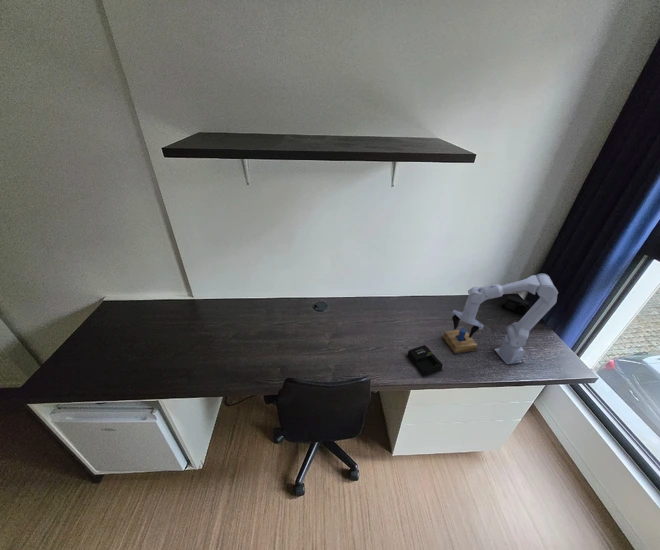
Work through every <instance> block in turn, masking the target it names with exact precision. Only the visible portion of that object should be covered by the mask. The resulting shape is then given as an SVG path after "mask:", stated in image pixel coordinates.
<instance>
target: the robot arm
mask: <svg viewBox="0 0 660 550" xmlns="http://www.w3.org/2000/svg"><path fill="white" fill-rule="evenodd" d="M522 291H526V292H528V293H529V294H532V295H536V293H537V295H538V297H539V298H538V299H537V301H536V302H535V303H534V304H533V305H532V306H531V307H530V308H529V309H528V311H527V312H525V313H524V314H523V316H522V317H521V319H520V320H518V321H514V322H513V323H512V324H510V325H508V326H507V327H506V328H505V331H506V334H505V336H504V338H503V340H502V342H501V345H500V347H497V348H494V349H493V350H494V351H495V353H496V354H497V355H498V356H499V357H500V358H501V360H502V361H503V362H504V363H505V364H506V365H513V364H519V363H522V362H523V361H522V360H523V358H524V356H525V354H526V351H525V350H524V349H523V347H524V346H525V345H526V344H527V343H526V342H527V340H529V335H530V332H531V330H533V328H534V327H535V326H536V325H537V324H538V323H539V322H540V320H542V318H543V317H544V316H545V315H546V314H547V313H548V312H550V310H551V309H552V308H553V307H554V306H555V305H556V304H557V300H558V294H559V291H558V289H557V287H556V286H555V285H554V283H553V280H552V279H551V277H550V276H549V275H548V274H546V273H538V274H532V275H530V276H528V277H527V278H525V279H521V280H517V281H514V282H510V283H506V284H499V283H490V285H486V286H473V287H470V288H469V289H468V290H467V294H468V296H467V299H466V301H465V303H464V307H463V310H462V311H459V310H456V309H453V311H452V312H451V315H452V317H451V319H452V322H453V330H457V328H458V327H459V323H460V320H461V322H463V323H465V324H469V325H472V327H470V332H469V338H472V337H473V335H474V334H475V333H476V332H478V331H479V330H480V331H482V330H483V328H484V326H485V325H484V324H483V323H482V322H480V321H479V320H477V319H476V317H477V314H478V311H479V308H480V305H481V304H482V303H483V302H485V301H486V300H493V299H496V298H501V297H502V296H503V295H505V294H509V293H516V292H522Z"/></svg>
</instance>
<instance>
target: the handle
mask: <svg viewBox="0 0 660 550" xmlns="http://www.w3.org/2000/svg"><path fill="white" fill-rule="evenodd" d="M459 330H460V332H459V335H458V338H457V339H458V341H463V340H464V337H465V334H466V332H467V330H466V329H465V328H460V329H459Z"/></svg>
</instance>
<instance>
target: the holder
mask: <svg viewBox="0 0 660 550" xmlns="http://www.w3.org/2000/svg"><path fill="white" fill-rule="evenodd" d="M459 332H460V329H454V330H447V331H444V333H443V337H442V338H443V339H444V341H445V342H446V344H447V345H448V347H450V349H451V350H452V352H453V353H454V354H460V353H466V352H475V351H476V350H477V347H478V343H476V341H475V340H474V339H473V338H472V337H471V338H469V335H470V333H468V331H466V334H465V337H464V340H463V341H458V339H457V338H458V335H459Z"/></svg>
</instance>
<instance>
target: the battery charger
mask: <svg viewBox="0 0 660 550" xmlns="http://www.w3.org/2000/svg"><path fill="white" fill-rule="evenodd" d="M407 357H408V359H409V360H410V361H411V362H412V364H413V365H414V366H415V367H416V368H417V370H418V372H419V373H420V374H421V375H422V376H423V377H426V376H429V375H432V374H434V373H438V372H440V371H442V369H443V363H442V362H441V361H440V359H439V358H438V357H437V356H436V355H435V354H434V353H433V352H432V350H430V348H429V347H428V346H427V345H426V344H424V345H420V346H417V347H414V348H412V349H408V351H407Z"/></svg>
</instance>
